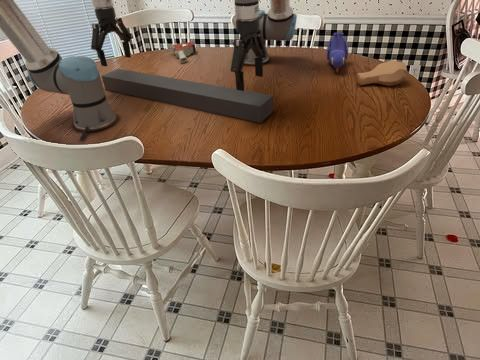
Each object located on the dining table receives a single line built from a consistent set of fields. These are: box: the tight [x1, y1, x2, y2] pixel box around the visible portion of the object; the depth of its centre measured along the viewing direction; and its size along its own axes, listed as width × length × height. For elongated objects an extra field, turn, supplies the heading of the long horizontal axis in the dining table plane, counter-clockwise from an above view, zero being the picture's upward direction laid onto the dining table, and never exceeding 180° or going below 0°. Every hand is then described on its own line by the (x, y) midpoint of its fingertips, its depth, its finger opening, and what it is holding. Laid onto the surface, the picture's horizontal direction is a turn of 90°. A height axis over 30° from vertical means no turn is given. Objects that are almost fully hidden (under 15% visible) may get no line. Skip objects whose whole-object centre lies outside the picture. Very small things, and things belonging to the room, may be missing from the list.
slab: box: [101, 68, 274, 124], centre depth 145 cm, size 79×10×6 cm, turn 60°
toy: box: [326, 31, 349, 74], centre depth 163 cm, size 10×17×25 cm
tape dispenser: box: [170, 41, 197, 64], centre depth 192 cm, size 18×5×20 cm
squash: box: [356, 59, 408, 87], centre depth 147 cm, size 11×20×9 cm, turn 92°
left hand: (116, 61), depth 153 cm, fingers open, 13 cm apart
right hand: (250, 82), depth 125 cm, fingers open, 13 cm apart
